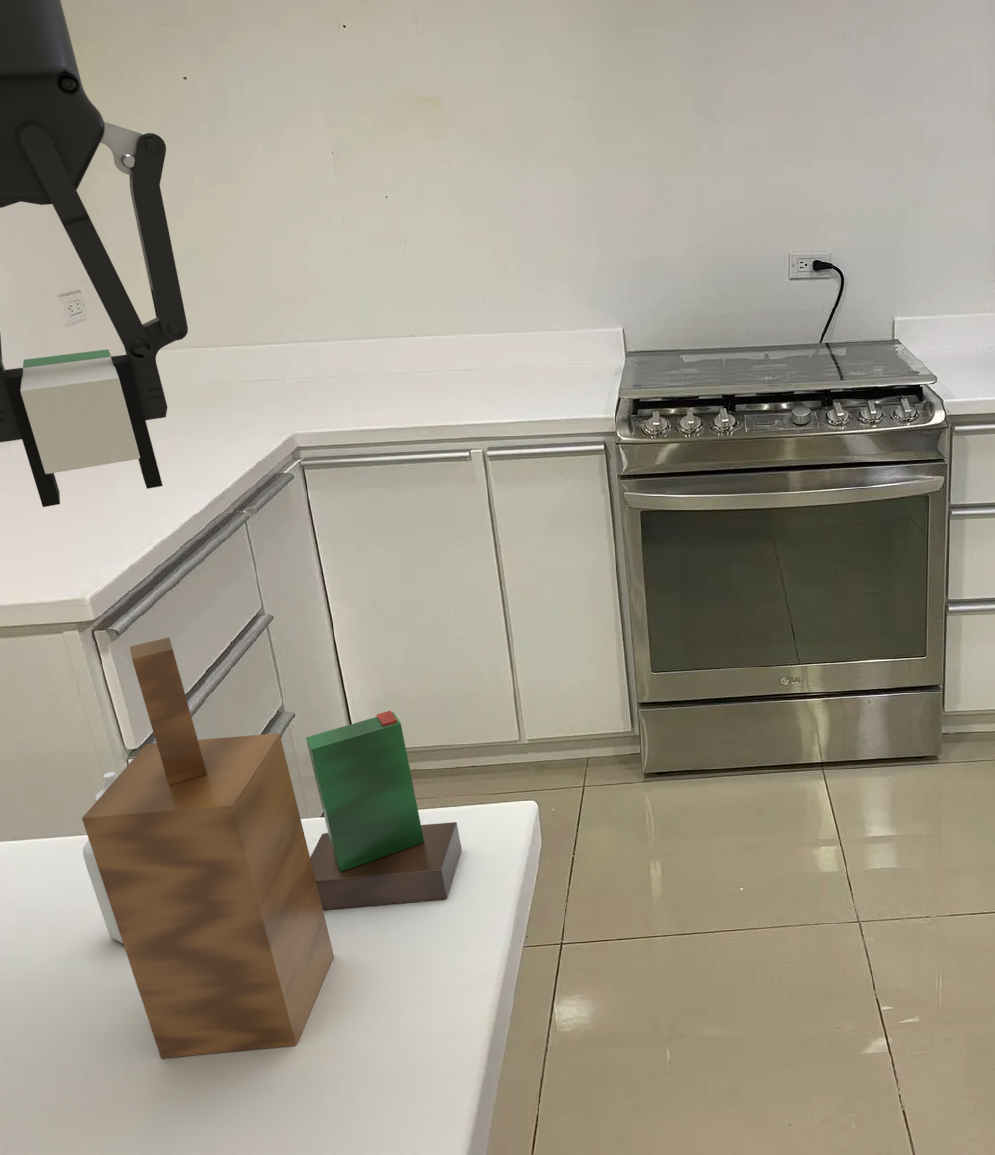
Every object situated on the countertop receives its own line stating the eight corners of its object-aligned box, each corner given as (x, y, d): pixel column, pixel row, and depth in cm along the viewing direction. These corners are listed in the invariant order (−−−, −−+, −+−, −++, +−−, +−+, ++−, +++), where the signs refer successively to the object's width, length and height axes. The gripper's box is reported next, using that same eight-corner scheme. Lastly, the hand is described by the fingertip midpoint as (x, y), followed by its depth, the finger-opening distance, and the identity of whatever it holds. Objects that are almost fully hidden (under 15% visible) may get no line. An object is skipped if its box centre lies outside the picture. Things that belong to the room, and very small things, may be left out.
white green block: (140, 458, 55) (118, 376, 53) (45, 474, 53) (20, 390, 51) (127, 421, 63) (108, 349, 61) (45, 433, 61) (23, 359, 59)
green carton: (340, 872, 79) (310, 746, 76) (334, 858, 81) (304, 734, 77) (424, 842, 82) (400, 719, 78) (417, 829, 84) (392, 708, 80)
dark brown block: (304, 911, 80) (296, 882, 79) (328, 860, 85) (321, 833, 84) (446, 899, 80) (441, 870, 79) (461, 849, 86) (456, 821, 85)
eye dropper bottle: (110, 918, 80) (61, 773, 76) (196, 890, 83) (154, 748, 78) (111, 953, 77) (60, 803, 72) (201, 923, 79) (157, 776, 75)
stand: (160, 1058, 67) (37, 686, 58) (212, 966, 75) (110, 623, 65) (296, 1045, 68) (196, 674, 58) (334, 955, 75) (250, 613, 66)
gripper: (-312, -30, 43) (-104, 546, 52) (179, -23, 51) (287, 475, 60) (-269, -6, 49) (-89, 506, 58) (164, -3, 57) (265, 446, 66)
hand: (102, 489), depth 59 cm, fingers closed on white green block, 4 cm apart
